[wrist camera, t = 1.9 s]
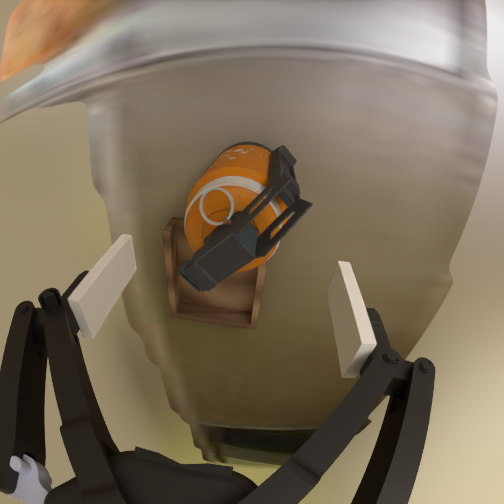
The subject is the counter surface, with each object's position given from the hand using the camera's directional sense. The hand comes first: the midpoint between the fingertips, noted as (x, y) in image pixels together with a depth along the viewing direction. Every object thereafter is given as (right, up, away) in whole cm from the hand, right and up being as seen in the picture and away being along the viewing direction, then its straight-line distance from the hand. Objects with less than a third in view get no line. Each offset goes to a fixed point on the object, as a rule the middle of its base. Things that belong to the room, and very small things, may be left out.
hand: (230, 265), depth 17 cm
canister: (+2, +11, +17) cm, 21 cm away
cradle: (-4, -2, +26) cm, 26 cm away
